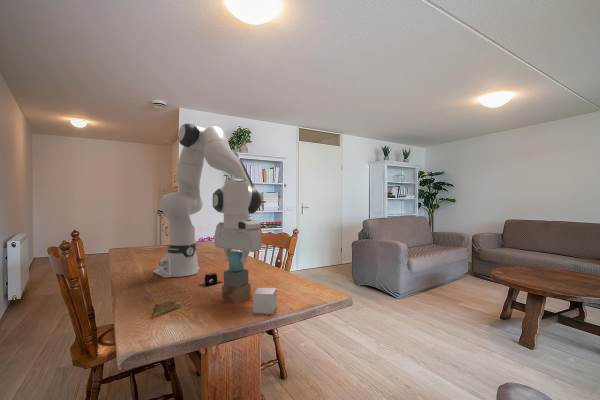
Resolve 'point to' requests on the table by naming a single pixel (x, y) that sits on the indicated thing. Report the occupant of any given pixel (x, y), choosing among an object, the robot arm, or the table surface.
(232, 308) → the table surface
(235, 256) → the teal cylinder
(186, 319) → the table surface
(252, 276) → the table surface
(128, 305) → the table surface
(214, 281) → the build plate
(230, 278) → the tower upper block
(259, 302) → the white cube
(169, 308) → the shard
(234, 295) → the tower lower block
